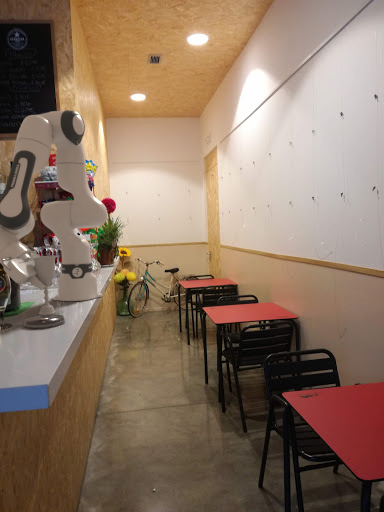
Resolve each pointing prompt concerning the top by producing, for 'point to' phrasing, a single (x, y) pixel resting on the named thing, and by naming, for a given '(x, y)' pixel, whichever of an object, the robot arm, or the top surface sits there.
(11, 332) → the top surface
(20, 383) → the top surface
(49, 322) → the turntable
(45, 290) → the chalice
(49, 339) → the top surface
